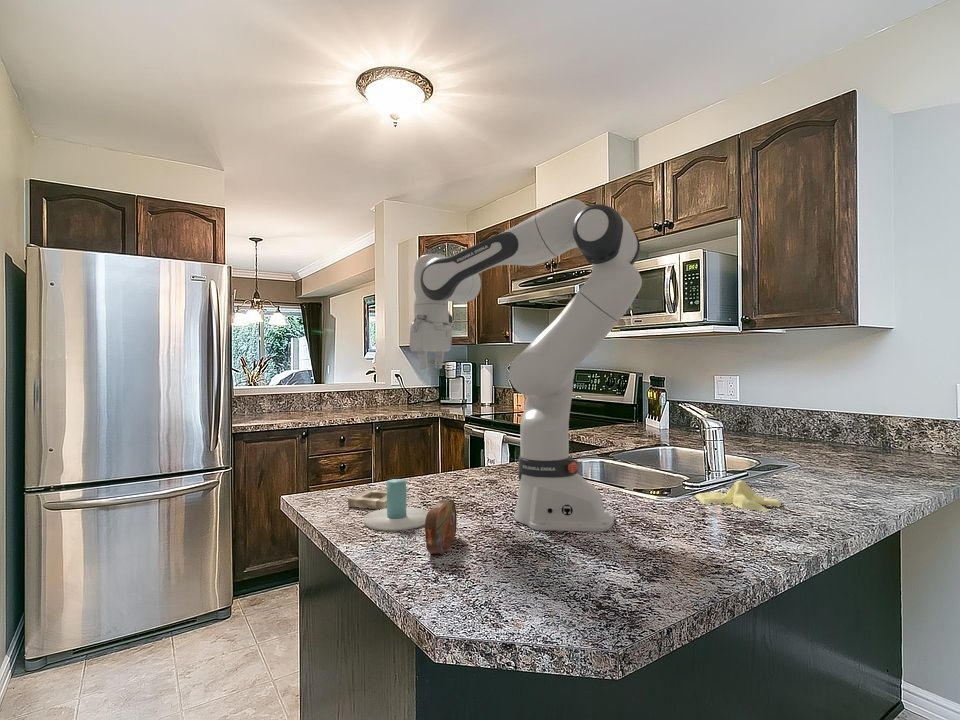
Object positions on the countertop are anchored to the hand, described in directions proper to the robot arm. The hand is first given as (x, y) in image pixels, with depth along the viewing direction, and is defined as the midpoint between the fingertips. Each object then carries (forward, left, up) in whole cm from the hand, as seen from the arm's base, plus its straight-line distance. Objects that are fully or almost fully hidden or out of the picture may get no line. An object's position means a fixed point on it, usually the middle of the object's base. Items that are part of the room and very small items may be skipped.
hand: (431, 369), depth 146 cm
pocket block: (+12, +9, -34) cm, 37 cm away
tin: (-16, +34, -34) cm, 51 cm away
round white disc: (0, +21, -34) cm, 40 cm away
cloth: (-77, -16, -35) cm, 86 cm away
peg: (0, +21, -33) cm, 39 cm away
